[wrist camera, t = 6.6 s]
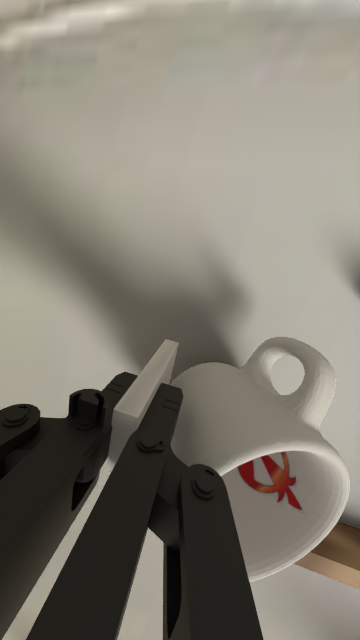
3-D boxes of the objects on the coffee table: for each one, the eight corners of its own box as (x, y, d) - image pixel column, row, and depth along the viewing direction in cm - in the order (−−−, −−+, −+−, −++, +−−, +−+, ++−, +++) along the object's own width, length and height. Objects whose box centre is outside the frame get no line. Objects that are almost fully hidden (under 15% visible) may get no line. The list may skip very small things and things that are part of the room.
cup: (210, 287, 14) (302, 336, 7) (298, 341, 17) (435, 420, 9) (127, 423, 16) (124, 583, 8) (217, 452, 18) (277, 594, 11)
